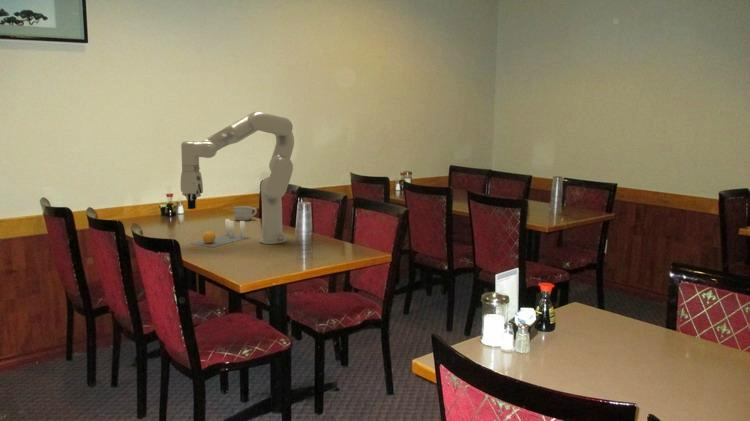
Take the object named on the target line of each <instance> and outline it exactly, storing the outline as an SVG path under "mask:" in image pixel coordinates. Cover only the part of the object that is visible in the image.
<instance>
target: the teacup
mask: <svg viewBox="0 0 750 421" xmlns="http://www.w3.org/2000/svg"><path fill="white" fill-rule="evenodd" d="M253 210H254V213H253ZM257 210H258V209H257V208H256V207H253V206H249V205H247V206H246V205H241V206H234V207H233V216H234V218H235V219H236V221H239V222H240V221H245V222H246V221H250V220H251V219H252V218H253V217H254V216H256V215H257V213H258V211H257Z"/></svg>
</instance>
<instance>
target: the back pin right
mask: <svg viewBox="0 0 750 421" xmlns="http://www.w3.org/2000/svg"><path fill="white" fill-rule="evenodd" d="M224 220H225V222H224V224H225V225H224V226H225V227H224V228H225V230H224V232H225V235H226V236H229V221H231V219H230V218H226V219H224Z"/></svg>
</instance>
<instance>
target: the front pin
mask: <svg viewBox="0 0 750 421" xmlns="http://www.w3.org/2000/svg"><path fill="white" fill-rule="evenodd" d="M234 235H235V221H234V220H230V221H229V238H234Z"/></svg>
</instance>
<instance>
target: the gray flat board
mask: <svg viewBox="0 0 750 421" xmlns="http://www.w3.org/2000/svg"><path fill="white" fill-rule="evenodd" d="M250 238H252V237H251V236H246V235H245V238H240V234H234V238H229V236H226V234H225V235H221V236H220V235H219V236H216V238H215V241H214V242H213V243H210V244H207V243H205V242H204V241H203V239H202V240H198V241H194V242H191V243H190V244H191V245H196V246H203V247H208V248H215V247H219V246H223V245H226V244H230V243H234V242H239V241H242V240H246V239H247V240H248V239H250Z"/></svg>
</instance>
